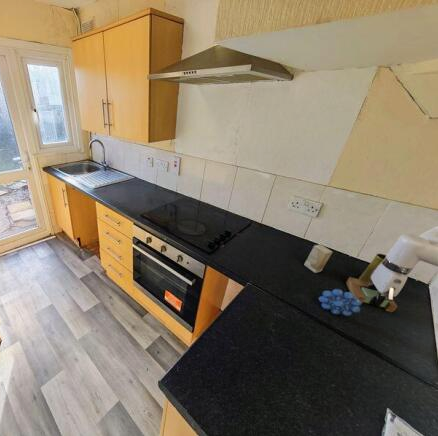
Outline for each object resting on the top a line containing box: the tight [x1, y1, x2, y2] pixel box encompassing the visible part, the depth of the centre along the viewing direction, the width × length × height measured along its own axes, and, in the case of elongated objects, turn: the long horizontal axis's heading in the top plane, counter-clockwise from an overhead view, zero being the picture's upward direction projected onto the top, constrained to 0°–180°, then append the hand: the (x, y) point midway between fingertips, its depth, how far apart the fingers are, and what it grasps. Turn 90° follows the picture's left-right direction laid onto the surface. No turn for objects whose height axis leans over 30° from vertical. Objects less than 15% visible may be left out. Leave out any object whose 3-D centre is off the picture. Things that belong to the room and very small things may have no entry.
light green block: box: [361, 287, 389, 308], centre depth 92 cm, size 7×5×4 cm
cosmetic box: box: [303, 243, 333, 274], centre depth 107 cm, size 6×4×12 cm
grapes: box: [318, 288, 362, 317], centre depth 85 cm, size 12×7×12 cm, turn 46°
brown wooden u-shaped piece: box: [345, 276, 398, 313], centre depth 94 cm, size 12×12×4 cm
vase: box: [358, 253, 387, 282], centre depth 99 cm, size 6×6×14 cm
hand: (371, 298), depth 93 cm, fingers closed on light green block, 4 cm apart
